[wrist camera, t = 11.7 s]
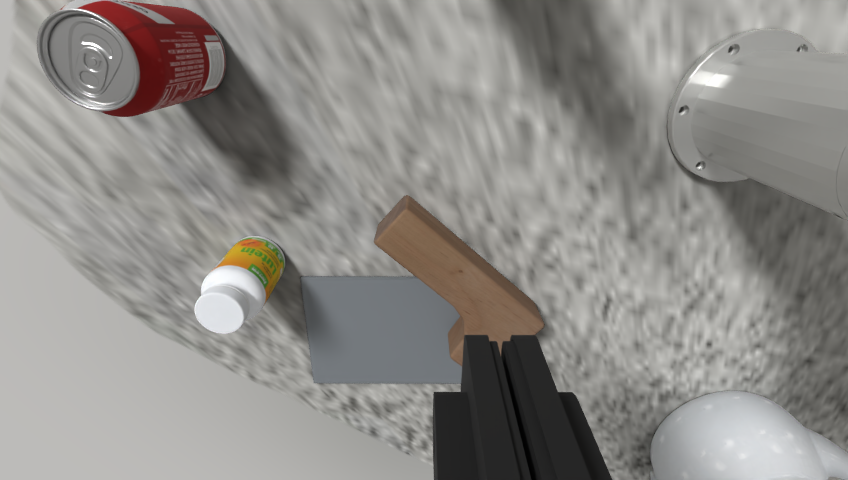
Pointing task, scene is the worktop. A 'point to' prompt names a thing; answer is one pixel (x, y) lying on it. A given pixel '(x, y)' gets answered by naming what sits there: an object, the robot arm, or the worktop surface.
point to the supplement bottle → (239, 284)
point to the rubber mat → (378, 330)
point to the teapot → (741, 443)
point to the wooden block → (456, 277)
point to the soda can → (129, 55)
